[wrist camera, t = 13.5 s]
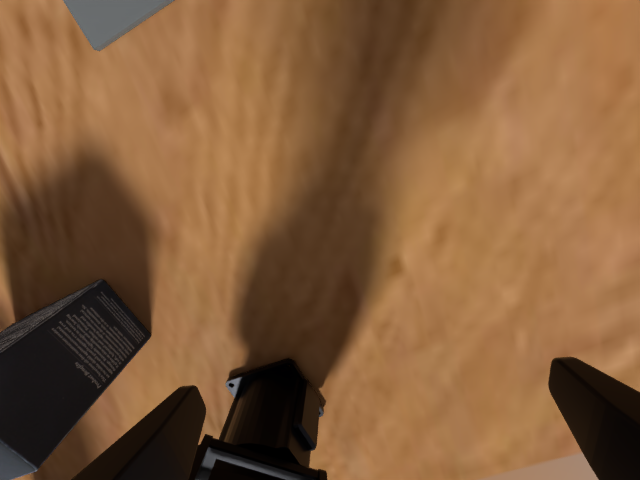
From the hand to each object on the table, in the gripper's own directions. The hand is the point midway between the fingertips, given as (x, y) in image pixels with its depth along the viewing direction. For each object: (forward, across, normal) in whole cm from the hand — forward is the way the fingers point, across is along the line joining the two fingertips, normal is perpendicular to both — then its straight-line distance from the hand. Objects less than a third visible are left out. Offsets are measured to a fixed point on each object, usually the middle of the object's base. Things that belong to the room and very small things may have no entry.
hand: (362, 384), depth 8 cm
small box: (+13, +23, +6) cm, 27 cm away
